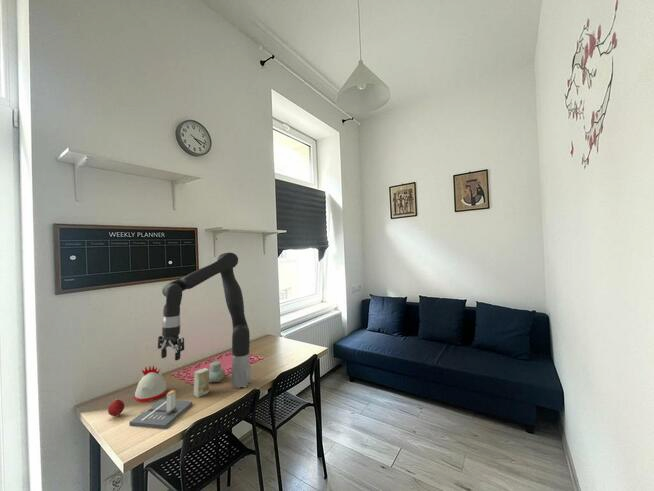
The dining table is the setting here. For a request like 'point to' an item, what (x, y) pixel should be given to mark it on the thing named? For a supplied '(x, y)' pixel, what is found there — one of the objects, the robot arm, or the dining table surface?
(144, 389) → the kitchen timer
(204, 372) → the skincare box
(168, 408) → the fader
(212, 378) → the air freshener
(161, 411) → the console
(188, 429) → the dining table surface
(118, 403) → the onion
